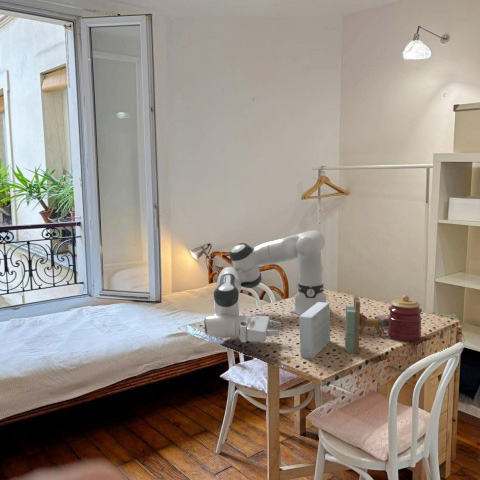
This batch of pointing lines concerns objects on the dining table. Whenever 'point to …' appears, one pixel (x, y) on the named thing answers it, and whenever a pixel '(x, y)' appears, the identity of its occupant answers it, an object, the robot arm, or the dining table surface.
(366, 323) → the lion figurine
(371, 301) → the dining table surface
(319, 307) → the skincare box
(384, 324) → the packaged product
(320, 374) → the dining table surface
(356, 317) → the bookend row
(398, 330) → the canister
